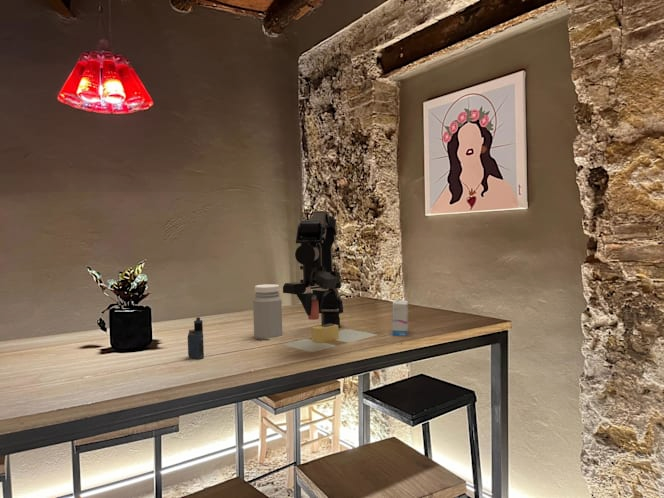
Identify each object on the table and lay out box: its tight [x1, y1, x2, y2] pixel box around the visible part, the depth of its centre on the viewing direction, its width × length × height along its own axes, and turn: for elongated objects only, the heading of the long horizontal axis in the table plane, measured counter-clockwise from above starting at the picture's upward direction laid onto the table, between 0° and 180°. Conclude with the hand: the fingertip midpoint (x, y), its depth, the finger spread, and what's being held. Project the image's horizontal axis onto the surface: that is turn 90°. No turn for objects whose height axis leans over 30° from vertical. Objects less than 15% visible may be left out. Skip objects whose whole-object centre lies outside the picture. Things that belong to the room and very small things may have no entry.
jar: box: [252, 283, 283, 341], centre depth 165 cm, size 10×10×18 cm
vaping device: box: [187, 316, 205, 360], centre depth 141 cm, size 3×5×12 cm, turn 58°
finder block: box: [311, 324, 339, 343], centre depth 155 cm, size 4×8×5 cm, turn 134°
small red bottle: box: [307, 295, 320, 321], centre depth 144 cm, size 3×3×7 cm
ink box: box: [392, 299, 409, 337], centre depth 163 cm, size 9×5×12 cm, turn 168°
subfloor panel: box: [280, 328, 377, 353], centre depth 156 cm, size 14×30×1 cm, turn 134°
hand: (313, 314), depth 144 cm, fingers closed on small red bottle, 3 cm apart
